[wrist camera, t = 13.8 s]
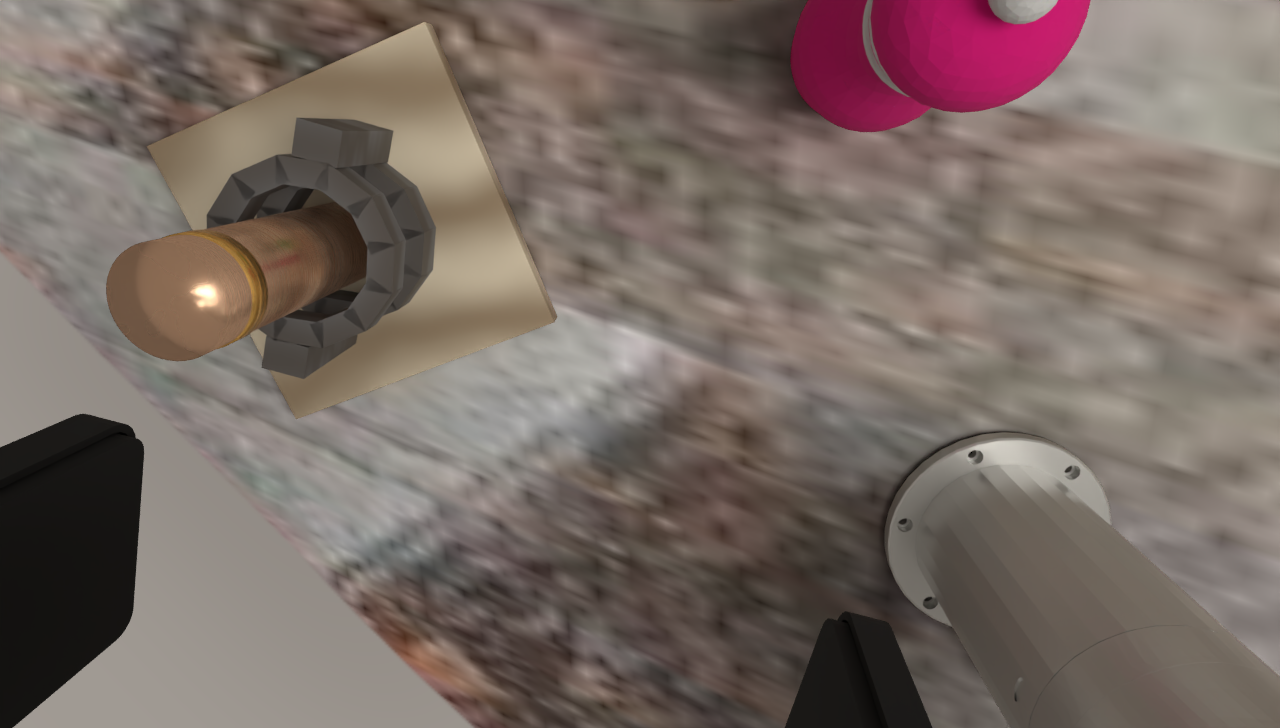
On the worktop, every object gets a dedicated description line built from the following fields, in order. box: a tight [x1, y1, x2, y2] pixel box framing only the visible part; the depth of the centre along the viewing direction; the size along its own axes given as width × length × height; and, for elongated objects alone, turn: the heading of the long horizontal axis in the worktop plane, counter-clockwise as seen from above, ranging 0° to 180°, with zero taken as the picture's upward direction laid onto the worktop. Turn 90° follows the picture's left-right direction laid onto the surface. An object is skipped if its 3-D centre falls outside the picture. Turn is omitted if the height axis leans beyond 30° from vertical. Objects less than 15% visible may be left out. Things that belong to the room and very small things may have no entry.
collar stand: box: [147, 22, 557, 419], centre depth 38 cm, size 16×16×8 cm
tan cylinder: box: [106, 202, 368, 361], centre depth 33 cm, size 4×4×16 cm
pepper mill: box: [790, 0, 1090, 132], centre depth 28 cm, size 7×7×20 cm
